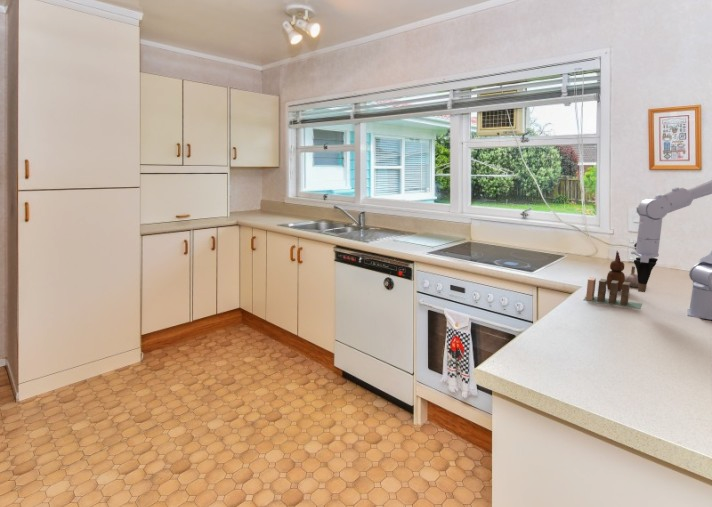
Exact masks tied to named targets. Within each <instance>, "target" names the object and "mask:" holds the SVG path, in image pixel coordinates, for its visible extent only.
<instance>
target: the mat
mask: <svg viewBox="0 0 712 507" xmlns="http://www.w3.org/2000/svg"><path fill="white" fill-rule="evenodd" d="M583 301H586V302H593V303H598V304H604V305H609V306H610V305H611V306H616V307H617V306H618V307H622V308H630V309H636V310H641V308H642V306H643V303H640V302H633V301H628V304H627V306H625V305H620V301H621V299H616V302H615V304H613V303H608V302H609V297H608V298H606V297H605V300H604V301H603V302H600V301H597V296H595V295H594V298H593V299H592V300H587V299H586V296H585V297H584V299H583Z"/></svg>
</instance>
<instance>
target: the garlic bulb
mask: <svg viewBox="0 0 712 507" xmlns="http://www.w3.org/2000/svg"><path fill="white" fill-rule="evenodd" d="M635 270H636V266H635V265H634V266H633V265H632V266H631V270H630V271H631V272H630V274H624V275H625V281H624V282H630V287H633V288H638V287H639V283H638V276H637V273H635V272H636V271H635Z"/></svg>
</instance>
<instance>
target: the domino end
mask: <svg viewBox="0 0 712 507" xmlns="http://www.w3.org/2000/svg"><path fill="white" fill-rule="evenodd" d="M596 282H597V278H596V277H589V278H588V279H587V285H586V286H587V287H586V296H585V297H586V299H587V300H592V299H593V298H594V296H595V292H596Z"/></svg>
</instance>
